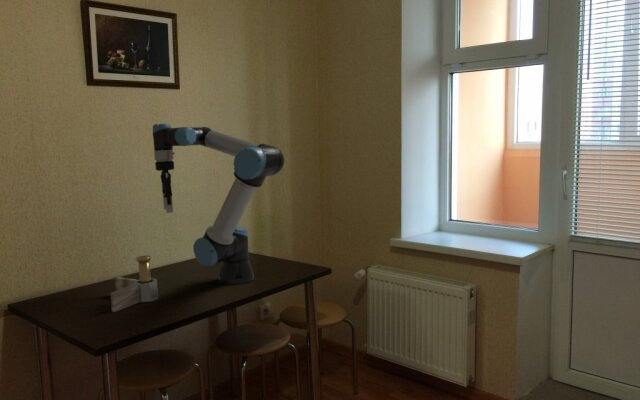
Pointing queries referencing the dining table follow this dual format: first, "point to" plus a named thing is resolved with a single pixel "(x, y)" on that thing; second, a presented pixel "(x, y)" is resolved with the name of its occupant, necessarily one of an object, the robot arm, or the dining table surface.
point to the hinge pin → (144, 269)
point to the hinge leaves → (124, 294)
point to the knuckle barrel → (147, 290)
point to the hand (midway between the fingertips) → (168, 210)
